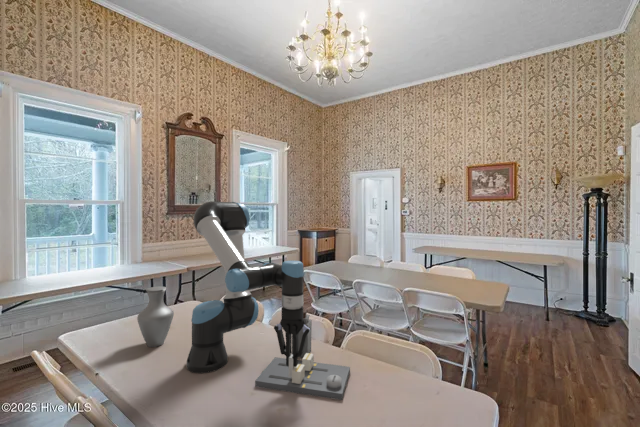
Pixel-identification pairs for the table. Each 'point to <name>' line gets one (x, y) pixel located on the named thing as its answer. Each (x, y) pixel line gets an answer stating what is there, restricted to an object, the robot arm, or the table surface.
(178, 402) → the table surface
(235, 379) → the table surface
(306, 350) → the perfume bottle
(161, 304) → the vase
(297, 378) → the fader near
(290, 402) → the table surface
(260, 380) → the console
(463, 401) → the table surface
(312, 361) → the fader far
